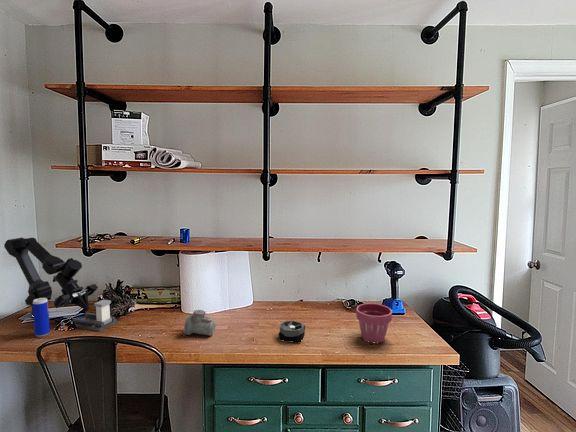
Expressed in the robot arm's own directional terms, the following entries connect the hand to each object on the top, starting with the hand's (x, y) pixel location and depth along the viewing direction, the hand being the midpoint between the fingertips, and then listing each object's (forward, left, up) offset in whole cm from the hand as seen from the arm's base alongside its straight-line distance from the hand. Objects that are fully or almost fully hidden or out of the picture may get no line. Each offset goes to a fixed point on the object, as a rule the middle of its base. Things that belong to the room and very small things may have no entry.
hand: (87, 309), depth 156 cm
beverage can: (+1, -17, -6) cm, 18 cm away
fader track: (+3, +2, -6) cm, 7 cm away
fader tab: (+7, +5, -5) cm, 10 cm away
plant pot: (+86, +92, -7) cm, 126 cm away
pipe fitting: (+40, +36, -7) cm, 54 cm away
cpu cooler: (+65, +65, -7) cm, 92 cm away
